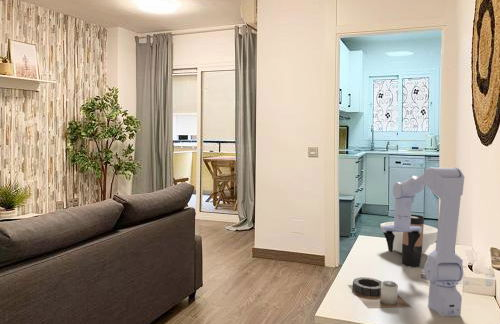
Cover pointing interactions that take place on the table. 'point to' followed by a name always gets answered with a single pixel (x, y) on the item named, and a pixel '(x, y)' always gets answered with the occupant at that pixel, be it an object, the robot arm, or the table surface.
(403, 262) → the travel mug
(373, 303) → the socket board
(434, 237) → the bowl
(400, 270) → the table surface
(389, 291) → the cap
